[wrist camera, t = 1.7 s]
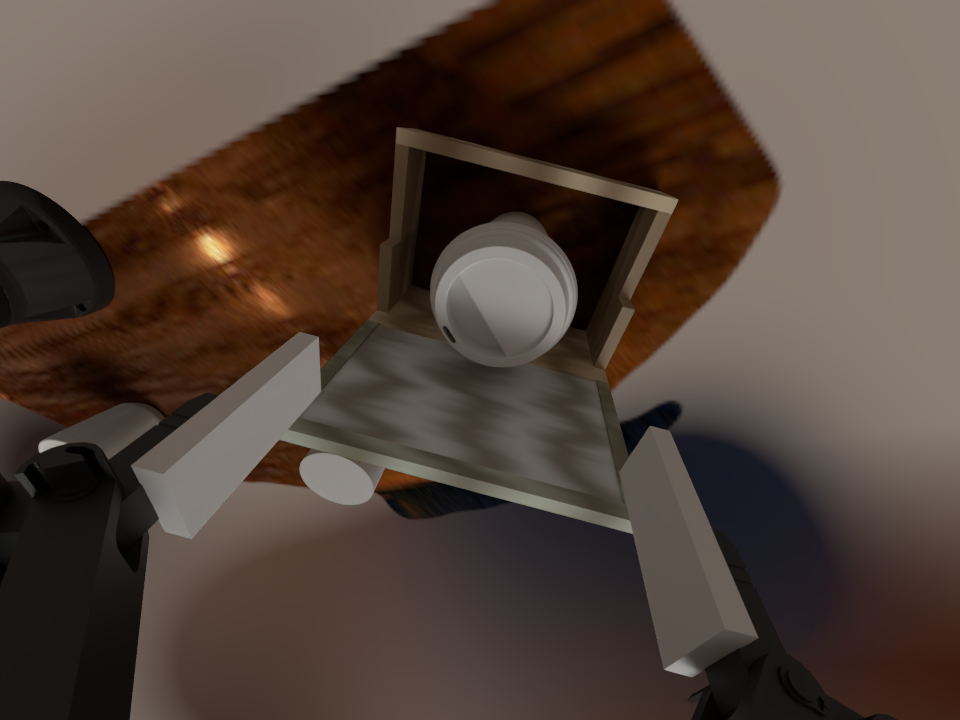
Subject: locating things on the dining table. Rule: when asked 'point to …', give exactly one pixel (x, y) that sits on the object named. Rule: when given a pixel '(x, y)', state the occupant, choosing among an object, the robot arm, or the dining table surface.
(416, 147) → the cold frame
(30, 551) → the robot arm
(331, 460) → the white cylinder
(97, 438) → the mug
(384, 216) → the dining table surface
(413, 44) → the dining table surface
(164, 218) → the dining table surface
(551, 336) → the coffee cup
